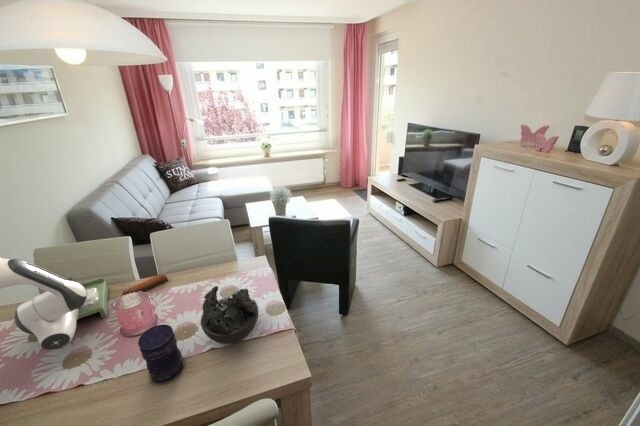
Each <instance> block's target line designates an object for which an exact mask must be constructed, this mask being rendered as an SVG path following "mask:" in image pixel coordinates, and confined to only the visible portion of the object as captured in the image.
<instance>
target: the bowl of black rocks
mask: <svg viewBox="0 0 640 426" xmlns="http://www.w3.org/2000/svg"><path fill="white" fill-rule="evenodd" d="M218 291H219V286H217V285H215V286H213V287H212V288H211V290H209V291H208V292H207V293H205V295H204V299H205V300H204V301H203V304H202V316H201V318H200V326H201V329H202V331H203V333H204V335H205V336H206V337H208V338H209V340H211V341H213V342H215V343H217V344H220V345H231V344H236V343H239V342H240V341H243V340H244V339H245V338H247V337H248V336H250V334H251V333H252V332H253V330H254V329H255V326H256V325H257V322H258V319H259V306H258V303H257V302H256V300H255V299H253V298H252V297H250V293H249V289H248V288H246V287H243V288H240V289H239V290H237V291H235V292H233V293H232V294H231V295H230V296H226V297H223V298H220V299H218V295H217V293H218Z"/></svg>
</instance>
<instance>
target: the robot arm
mask: <svg viewBox="0 0 640 426" xmlns="http://www.w3.org/2000/svg"><path fill="white" fill-rule="evenodd" d="M80 283H81V282H78V281H76V280H74V279H73V280H69V279H68V278H65V277H63V276H61V275H59V274H56V273H54V272H52V271H50V270H48V269H46V268H43V267H41V266H39V265H37V264H34V263H32V262H30V261H27V260H25V259H21V258H4V257H0V289H3V288H8V287H13V286H20V285H29V286H33V287H36V288H38V289H41V290H43V291H45V292H43V293H40V294H39V295H37V296H34V297H32V298H30V299H29V300H26V301H24V302H23V303H21V304H19V305H18V306H17V307H16V309H15V312H14V324H15V325H16V327H17V328H18V329H19V331H22V332H23V333H26V334H29V335H32V336H35V337H36V339H37V341H38V345H39V347H40V348H41V349H43V350H45V351H56V350H59V349H63V348H64V347H65V346H67V345H68V344H69V343H70V342H72V340H73V338H74V335H75V333H76V329H77V321H78V320H79V319H78V313H79V309H82V308H85V307H88V306H91V305H93V304H95V303H96V302H97V301H98V296H99V293H98V291H97V289H96V288H91V289H88V290H86V289H85V288H84V286H83V285H82V284H80Z"/></svg>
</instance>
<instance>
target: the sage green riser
mask: <svg viewBox="0 0 640 426" xmlns="http://www.w3.org/2000/svg"><path fill="white" fill-rule="evenodd" d="M79 283H80V284H81V283H82V285H83V286H84V288H85V289H86V290H88V289H91V288H96V289H97V291H98V293H99V296H98V301H97V302H96V303H95V304H93V305H91V306H88V307H85V308H82V309H80V310H79V313H78V319H77V320H80V319H83V318H85V317H88V316H91V315H93V314H97V313H99V314H100V316H101V318H102V319H104V318H107V317H108V299H109V297H108V296H109V288H108V285H107V283H106V280H105V278H104V276H101V277H97V278H94V279H91V280H87V281H84V282H79Z"/></svg>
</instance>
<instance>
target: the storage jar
mask: <svg viewBox="0 0 640 426" xmlns="http://www.w3.org/2000/svg"><path fill="white" fill-rule="evenodd" d="M137 345H138V347H139V351H140V355H141V356H142V358H143V360H144V361H145V363H146V369H147V372H148V374H149V375H150V377H151V380H152V381H153V382H154V383H155V384H161V385H162V384H165V383H166V384H167V383H169V382H171V381H173V380H175V378H177V377H178V376H179V375H180V374H181V373H182V371H183V369H184V365H185V363H184V360H183V355H182V352H181V349H180V348H179V347H178V340H177V337H176V334H175V332H174V329H173V327H172V326H171V325H169V324H157V325H154V326H152V327H150V328H148V329H146V330H145V331H144V332H143V333H142V334H141V335H140V336H139V338H138V341H137Z"/></svg>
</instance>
